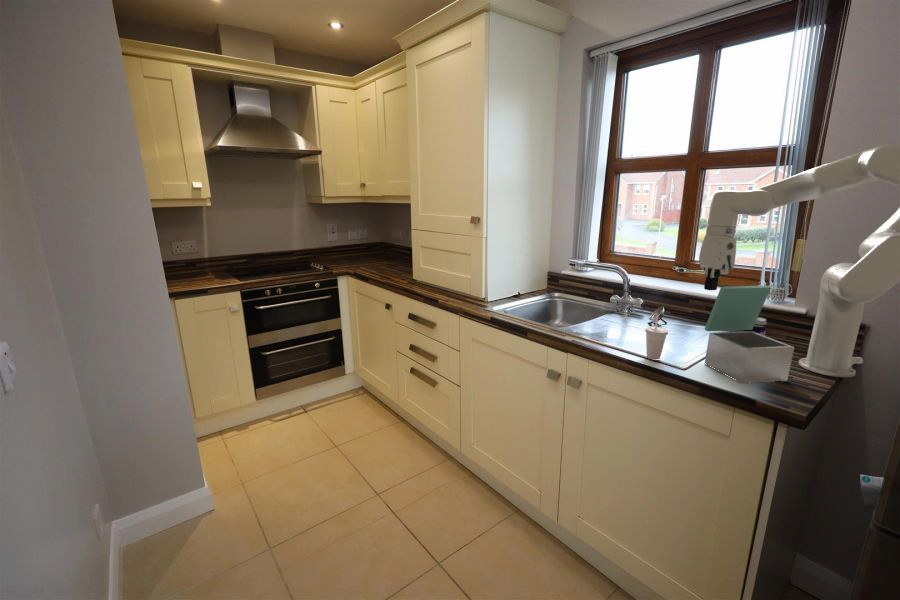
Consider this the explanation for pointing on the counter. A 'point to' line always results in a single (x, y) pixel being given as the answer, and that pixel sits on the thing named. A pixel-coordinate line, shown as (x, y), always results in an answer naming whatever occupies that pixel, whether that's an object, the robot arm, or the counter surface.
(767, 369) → the grey open box
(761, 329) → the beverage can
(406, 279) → the counter surface
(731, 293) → the lid
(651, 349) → the smoothie
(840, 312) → the robot arm
